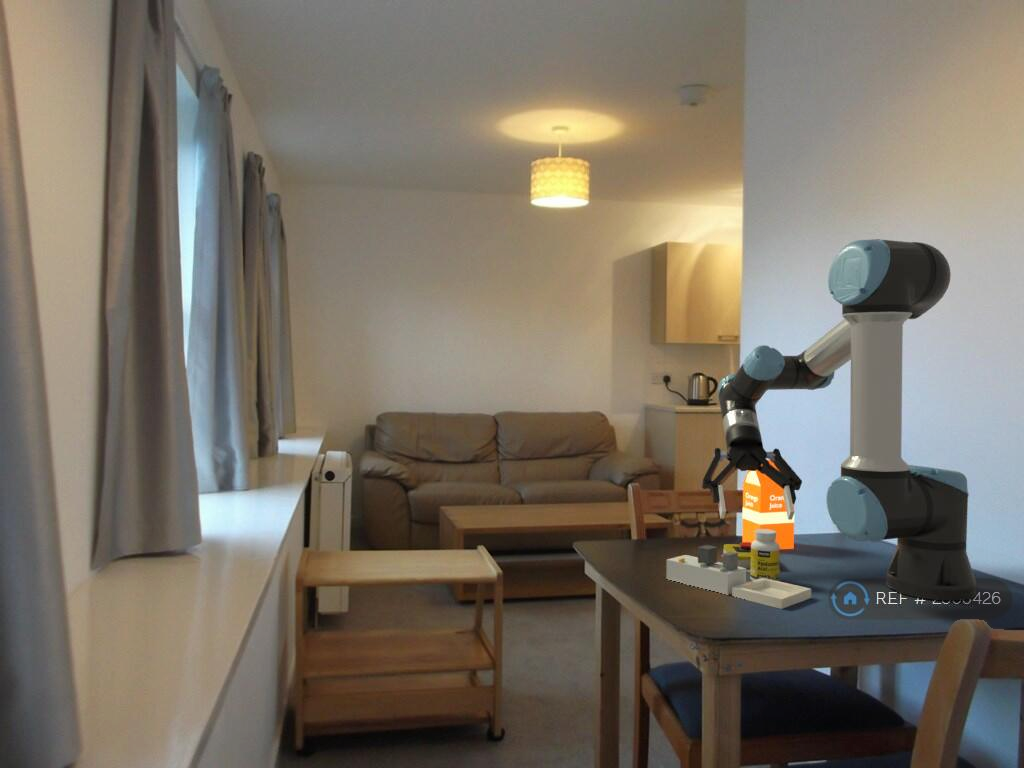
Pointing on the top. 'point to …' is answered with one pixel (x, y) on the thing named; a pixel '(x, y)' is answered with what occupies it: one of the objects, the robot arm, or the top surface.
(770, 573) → the supplement bottle
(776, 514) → the orange juice
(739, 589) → the shallow cream rectangular tray
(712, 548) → the switch
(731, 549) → the emergency button
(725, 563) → the long low white box
